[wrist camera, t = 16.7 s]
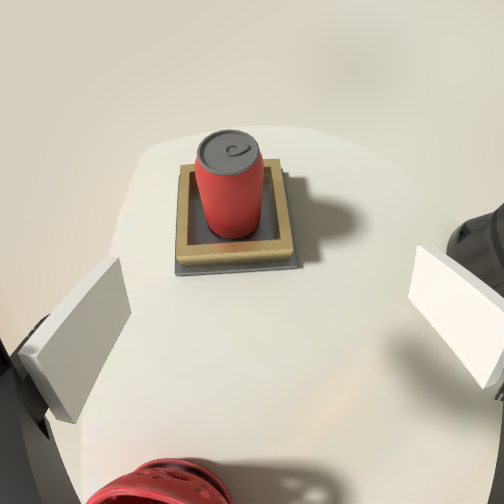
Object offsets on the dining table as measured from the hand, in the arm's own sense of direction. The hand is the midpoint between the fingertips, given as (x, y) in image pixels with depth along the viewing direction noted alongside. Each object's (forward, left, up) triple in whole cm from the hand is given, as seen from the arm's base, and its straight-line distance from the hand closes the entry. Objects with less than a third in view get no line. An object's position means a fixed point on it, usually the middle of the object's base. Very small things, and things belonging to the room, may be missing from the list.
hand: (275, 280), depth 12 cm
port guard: (+2, -15, -21) cm, 26 cm away
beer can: (+2, -15, -20) cm, 25 cm away
